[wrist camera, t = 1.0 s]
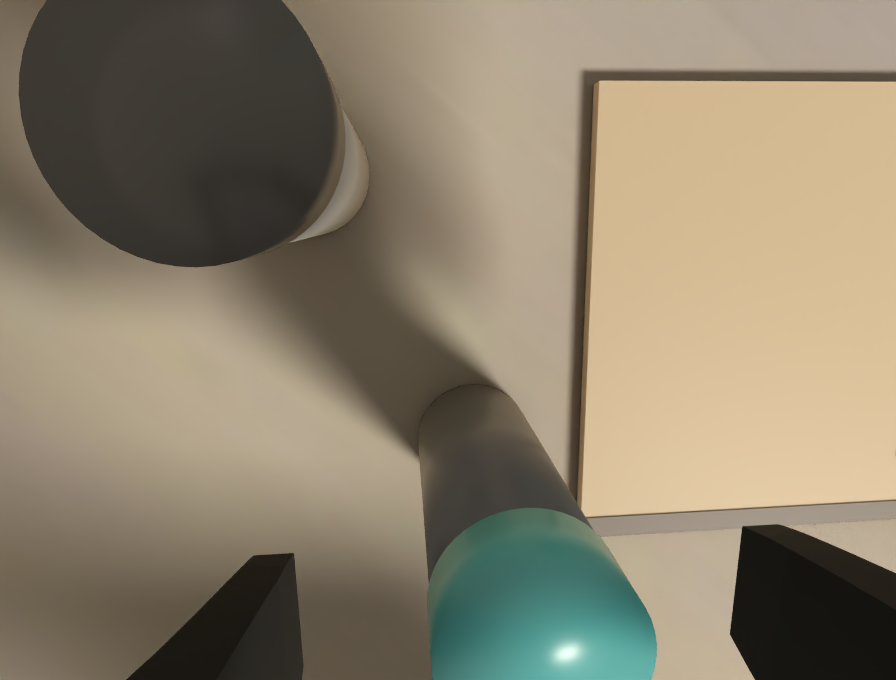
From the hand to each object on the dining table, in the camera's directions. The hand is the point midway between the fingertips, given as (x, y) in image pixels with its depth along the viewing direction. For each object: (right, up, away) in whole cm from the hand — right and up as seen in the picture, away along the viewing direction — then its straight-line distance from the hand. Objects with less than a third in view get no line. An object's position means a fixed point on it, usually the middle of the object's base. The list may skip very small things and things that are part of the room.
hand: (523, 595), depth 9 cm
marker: (-1, +1, +7) cm, 7 cm away
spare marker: (-5, +8, +5) cm, 10 cm away
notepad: (+10, +5, +7) cm, 13 cm away
